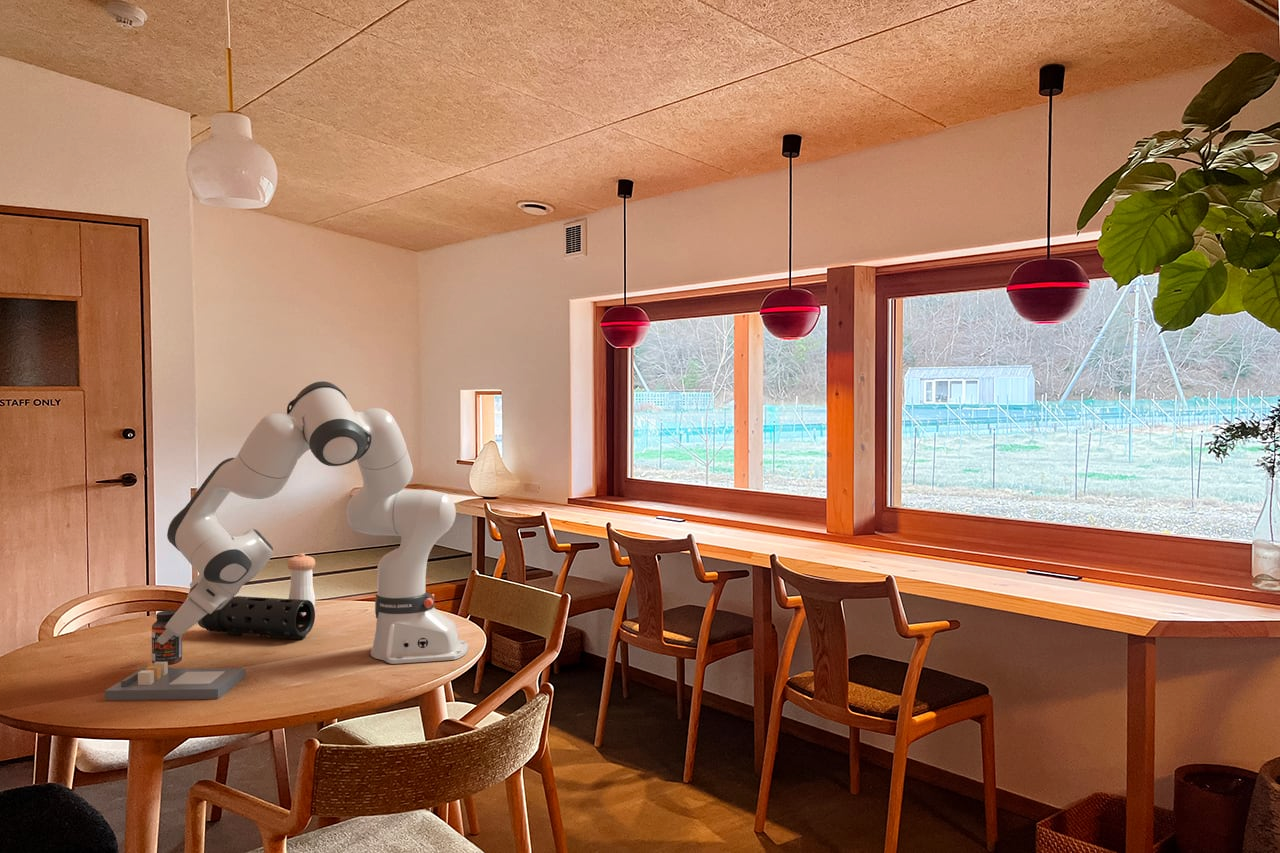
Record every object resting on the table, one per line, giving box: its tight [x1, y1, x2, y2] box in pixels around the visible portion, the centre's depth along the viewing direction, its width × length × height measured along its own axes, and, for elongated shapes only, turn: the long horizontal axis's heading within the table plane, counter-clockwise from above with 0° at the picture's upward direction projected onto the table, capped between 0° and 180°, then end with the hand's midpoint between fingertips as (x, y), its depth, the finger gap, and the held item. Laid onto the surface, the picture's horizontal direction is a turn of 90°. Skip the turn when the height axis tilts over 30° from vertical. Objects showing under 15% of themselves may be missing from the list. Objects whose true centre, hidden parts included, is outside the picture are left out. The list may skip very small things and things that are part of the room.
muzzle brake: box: [197, 595, 316, 640], centre depth 224 cm, size 10×28×10 cm, turn 78°
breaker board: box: [104, 662, 246, 701], centre depth 184 cm, size 22×14×4 cm, turn 93°
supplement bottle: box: [151, 609, 183, 666], centre depth 196 cm, size 6×6×11 cm
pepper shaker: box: [287, 553, 317, 627], centre depth 235 cm, size 7×7×19 cm
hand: (163, 637), depth 195 cm, fingers closed on supplement bottle, 6 cm apart
